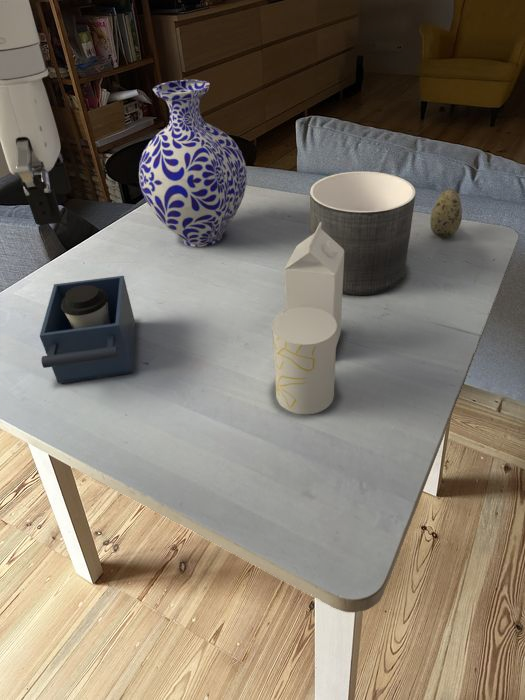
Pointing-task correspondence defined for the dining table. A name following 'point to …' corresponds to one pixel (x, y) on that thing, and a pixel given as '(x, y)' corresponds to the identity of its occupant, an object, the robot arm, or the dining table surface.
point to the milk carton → (316, 276)
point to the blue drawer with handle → (89, 336)
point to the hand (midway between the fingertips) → (55, 207)
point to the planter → (366, 226)
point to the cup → (304, 359)
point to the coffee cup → (86, 307)
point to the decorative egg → (446, 214)
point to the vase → (192, 169)
